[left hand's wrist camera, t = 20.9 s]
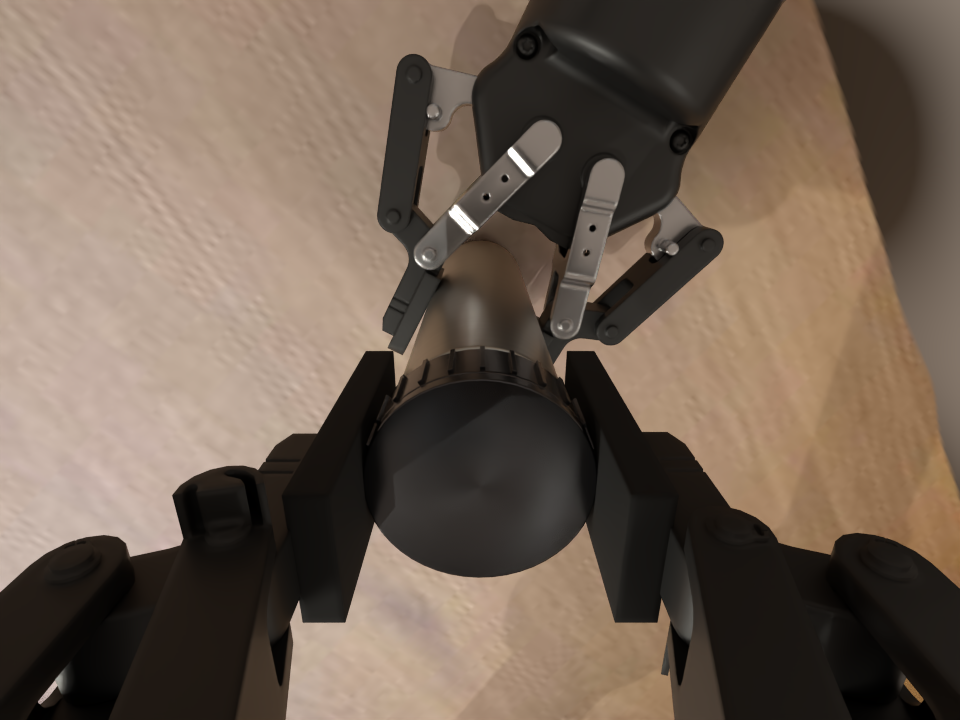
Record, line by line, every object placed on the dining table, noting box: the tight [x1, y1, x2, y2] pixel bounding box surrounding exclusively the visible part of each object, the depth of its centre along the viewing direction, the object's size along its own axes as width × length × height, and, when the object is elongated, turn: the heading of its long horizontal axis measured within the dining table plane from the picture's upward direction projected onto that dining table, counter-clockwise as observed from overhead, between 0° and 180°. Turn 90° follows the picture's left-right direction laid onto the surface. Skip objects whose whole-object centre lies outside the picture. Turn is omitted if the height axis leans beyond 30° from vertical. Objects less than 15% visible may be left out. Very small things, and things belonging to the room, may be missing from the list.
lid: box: [363, 346, 598, 578], centre depth 11 cm, size 5×5×2 cm
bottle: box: [404, 240, 558, 379], centre depth 20 cm, size 4×4×18 cm
